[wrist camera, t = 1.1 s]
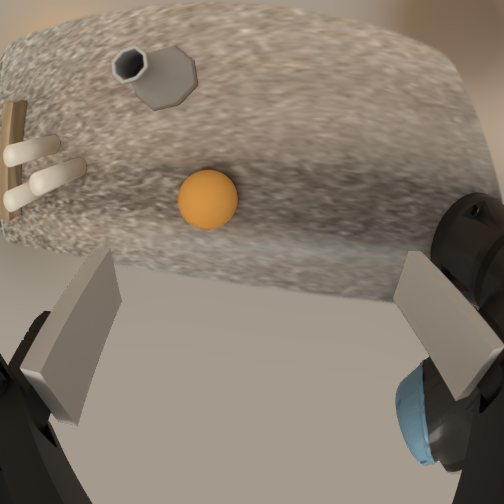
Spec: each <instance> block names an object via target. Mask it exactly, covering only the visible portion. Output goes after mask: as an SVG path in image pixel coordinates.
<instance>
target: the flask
mask: <svg viewBox="0 0 504 504" xmlns="http://www.w3.org/2000/svg"><path fill="white" fill-rule="evenodd" d="M111 69H112V76H113V77H114V78H116V79H117V80H118V81H119V82H120V83H121V84H123V85H124V84H127V83H130V82H131V83H132V85H133V87H134V91H135V94H136V96H137V97H138V98H140V99H141V100H142V101H143V102H144V103H145V104H146V105H148V106H149V107H150V108H151V109H152V110H153V111H156V110H159V109H163V108H167V107H172V106H176V105H179V104H180V103H181V102H182V101H183V100H184V99H185V98H186V97H187V96H188V95H189V94H190V93H191V92H192V91H193V90H194V89H195V88H196V87H197V85H198V83H197V77H196V70H195V64H194V60H193V59H191V58H190V57H189V56H188V55H186V54H185V53H184V52H183V51H181V50H180V49H179V48H178V47H176V46H173V47H169V48H165V49H162V50H158V51H155V52H151V53H146V52H145V51H144V50H143V49H141V48H140V47H139V46H138V45H133V46H130V47H127V48H124V49H121V50H120V51H119V52H118V54H117V55H116V56H115V57H114V58H113V60H112V61H111Z"/></svg>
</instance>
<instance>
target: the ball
mask: <svg viewBox="0 0 504 504" xmlns="http://www.w3.org/2000/svg"><path fill="white" fill-rule="evenodd" d="M237 203H238V196H237V191H236V188H235V186H234V184H233V182H232V181H231V180H230V179H229V178H228V177H227V176H226V175H224V174H223V173H221V172H218V171H215V170H202V171H198V172H196V173H194V174H192V175H190V176H189V177H188V178H187V179H186V180H185V181H184V183H183V184H182V186H181V188H180V190H179V194H178V206H179V210H180V212H181V214H182V216H183V217H184V219H185V220H186V221H187V222H188V223H189V224H191V225H192V226H194V227H197V228H200V229H206V230H209V229H215V228H218V227H221V226H223V225H224V224H226V223H227V222H228V221H229V220H230V219H231V218H232V216H233V215H234V213H235V211H236V208H237Z"/></svg>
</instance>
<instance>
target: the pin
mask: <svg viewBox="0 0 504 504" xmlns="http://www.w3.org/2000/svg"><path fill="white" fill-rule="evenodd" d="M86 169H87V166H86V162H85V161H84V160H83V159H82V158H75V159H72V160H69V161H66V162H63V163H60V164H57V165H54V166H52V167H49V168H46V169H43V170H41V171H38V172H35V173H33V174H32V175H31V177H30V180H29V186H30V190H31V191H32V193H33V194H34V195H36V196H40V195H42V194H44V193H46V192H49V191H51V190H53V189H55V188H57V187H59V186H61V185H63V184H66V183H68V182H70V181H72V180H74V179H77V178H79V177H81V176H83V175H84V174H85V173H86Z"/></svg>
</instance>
